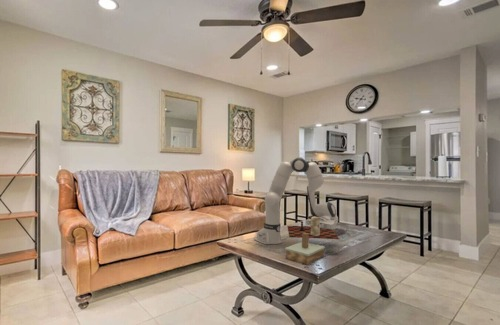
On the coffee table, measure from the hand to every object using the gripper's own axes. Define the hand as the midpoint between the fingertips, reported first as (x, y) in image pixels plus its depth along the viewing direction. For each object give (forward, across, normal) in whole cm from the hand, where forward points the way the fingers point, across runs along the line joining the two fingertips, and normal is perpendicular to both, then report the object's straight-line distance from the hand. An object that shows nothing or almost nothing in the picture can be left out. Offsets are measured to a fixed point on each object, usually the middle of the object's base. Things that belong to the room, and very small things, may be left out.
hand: (314, 225), depth 184 cm
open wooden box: (+12, 0, +18) cm, 22 cm away
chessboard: (-48, -30, +20) cm, 59 cm away
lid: (+13, 0, +13) cm, 18 cm away
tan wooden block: (-1, 0, +6) cm, 7 cm away
